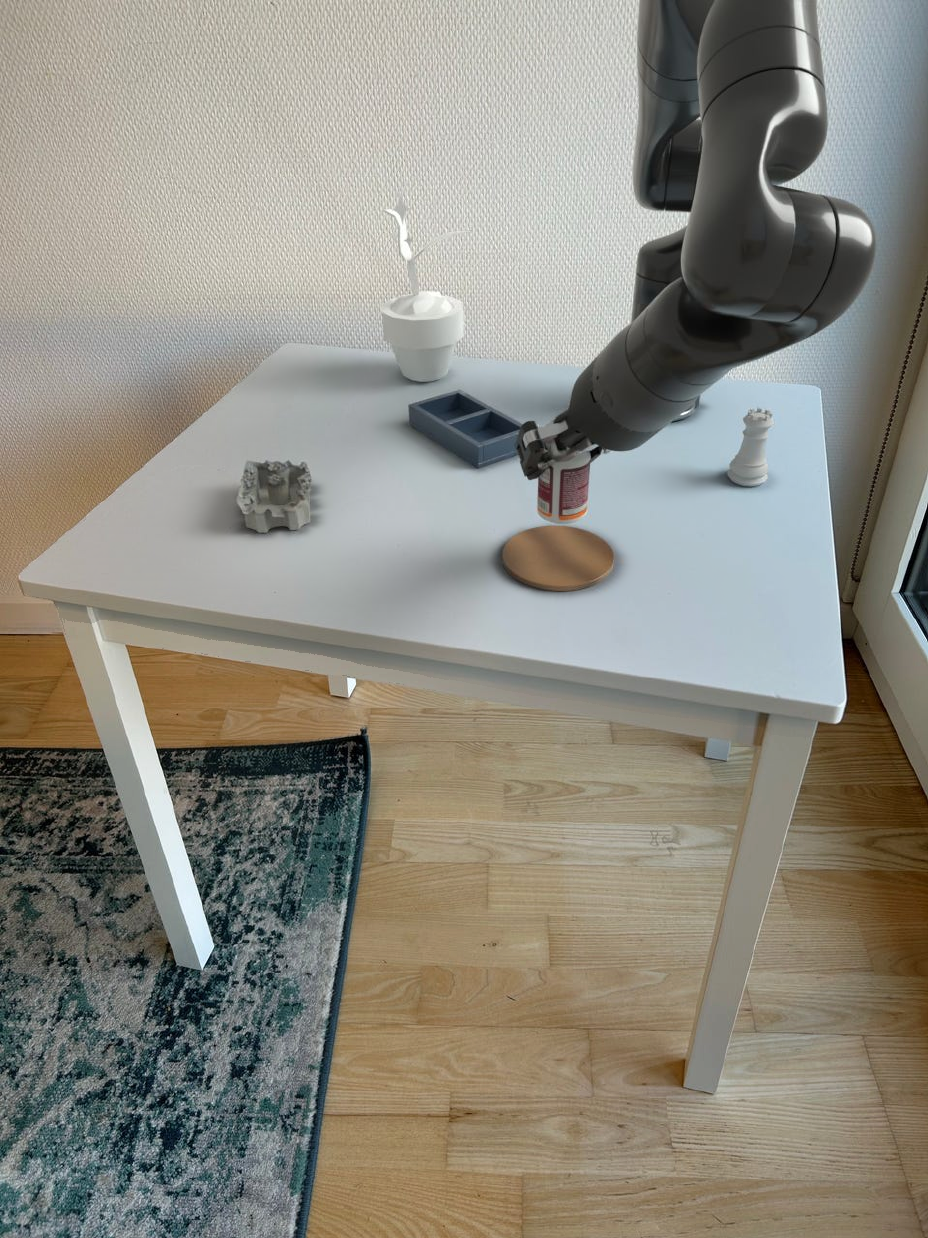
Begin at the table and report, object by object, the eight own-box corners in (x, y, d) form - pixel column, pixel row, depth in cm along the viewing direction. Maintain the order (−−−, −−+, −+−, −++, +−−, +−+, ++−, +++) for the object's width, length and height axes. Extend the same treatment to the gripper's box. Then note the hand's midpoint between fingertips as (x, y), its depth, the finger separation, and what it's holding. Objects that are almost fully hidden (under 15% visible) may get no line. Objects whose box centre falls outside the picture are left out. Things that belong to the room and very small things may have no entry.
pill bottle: (591, 504, 83) (598, 423, 78) (580, 528, 80) (586, 445, 75) (543, 497, 84) (547, 416, 79) (530, 520, 81) (533, 438, 76)
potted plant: (376, 388, 121) (360, 193, 106) (395, 358, 130) (383, 174, 115) (465, 393, 119) (461, 195, 104) (477, 362, 128) (476, 176, 113)
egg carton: (311, 531, 91) (306, 497, 88) (239, 536, 90) (231, 501, 88) (316, 482, 99) (311, 450, 96) (250, 486, 98) (244, 454, 96)
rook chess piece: (770, 473, 99) (784, 407, 94) (763, 491, 96) (778, 423, 91) (730, 466, 100) (743, 401, 96) (722, 483, 97) (735, 416, 92)
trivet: (564, 519, 92) (564, 514, 91) (637, 565, 84) (637, 560, 84) (480, 552, 87) (480, 547, 86) (550, 605, 79) (550, 599, 79)
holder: (460, 409, 115) (459, 389, 113) (531, 450, 105) (532, 428, 103) (409, 424, 111) (408, 404, 109) (478, 468, 101) (478, 446, 99)
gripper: (700, 323, 68) (604, 412, 84) (540, 353, 63) (471, 442, 79) (732, 411, 67) (630, 484, 83) (573, 449, 62) (497, 518, 78)
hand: (553, 463), depth 81 cm, fingers closed on pill bottle, 4 cm apart
